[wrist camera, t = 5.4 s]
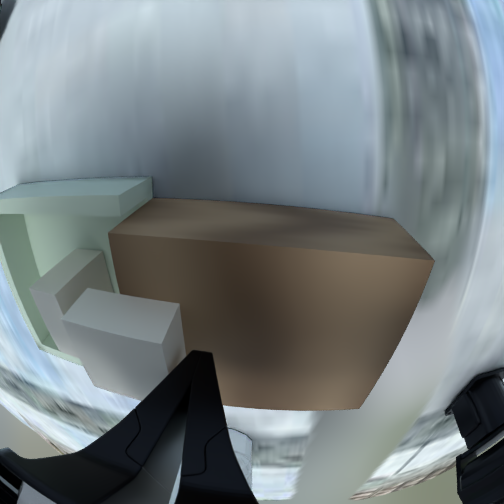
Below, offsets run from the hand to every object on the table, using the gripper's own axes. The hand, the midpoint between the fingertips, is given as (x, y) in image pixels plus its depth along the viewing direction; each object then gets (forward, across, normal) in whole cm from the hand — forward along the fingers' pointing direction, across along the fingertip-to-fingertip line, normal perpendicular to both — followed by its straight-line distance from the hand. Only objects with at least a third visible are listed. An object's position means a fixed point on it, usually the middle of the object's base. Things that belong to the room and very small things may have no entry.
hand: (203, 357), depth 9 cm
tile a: (+1, +3, 0) cm, 3 cm away
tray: (+5, +8, 0) cm, 10 cm away
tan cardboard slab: (+5, -2, 0) cm, 5 cm away
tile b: (+2, +6, 0) cm, 7 cm away
